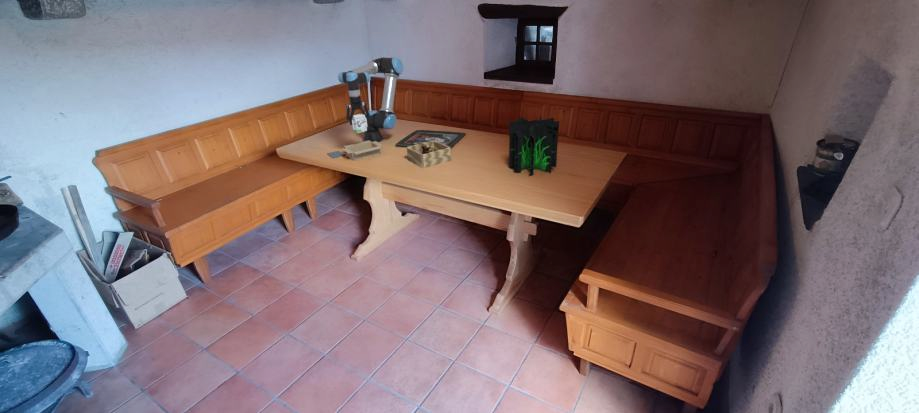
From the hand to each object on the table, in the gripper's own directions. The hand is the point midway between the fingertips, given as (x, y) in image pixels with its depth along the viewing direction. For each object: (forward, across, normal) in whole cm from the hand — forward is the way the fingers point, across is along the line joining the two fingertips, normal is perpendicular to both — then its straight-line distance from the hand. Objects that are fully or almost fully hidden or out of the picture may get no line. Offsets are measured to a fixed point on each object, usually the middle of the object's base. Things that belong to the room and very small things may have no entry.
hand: (359, 127), depth 300 cm
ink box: (+3, 0, 0) cm, 3 cm away
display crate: (+20, -31, +41) cm, 55 cm away
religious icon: (+21, -55, +6) cm, 59 cm away
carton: (+20, 0, 0) cm, 20 cm away
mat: (+20, +16, -14) cm, 29 cm away
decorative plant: (+20, -75, +97) cm, 124 cm away
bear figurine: (+21, -32, +39) cm, 54 cm away
